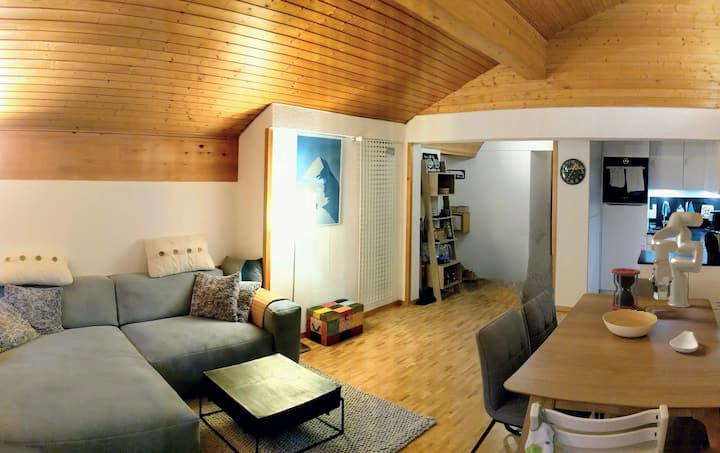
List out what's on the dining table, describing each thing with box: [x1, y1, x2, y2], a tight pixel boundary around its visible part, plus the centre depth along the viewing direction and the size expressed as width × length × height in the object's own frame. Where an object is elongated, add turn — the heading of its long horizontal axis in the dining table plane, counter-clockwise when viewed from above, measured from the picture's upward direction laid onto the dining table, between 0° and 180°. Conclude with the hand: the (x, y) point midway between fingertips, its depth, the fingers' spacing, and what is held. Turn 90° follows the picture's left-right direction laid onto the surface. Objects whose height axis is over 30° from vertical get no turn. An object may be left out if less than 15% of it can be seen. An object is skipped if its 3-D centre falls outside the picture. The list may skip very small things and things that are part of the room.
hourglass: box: [610, 267, 641, 311], centre depth 334 cm, size 16×16×25 cm
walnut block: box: [644, 305, 677, 320], centre depth 317 cm, size 12×12×5 cm
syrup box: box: [653, 276, 669, 301], centre depth 315 cm, size 6×6×14 cm
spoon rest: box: [669, 330, 699, 354], centre depth 259 cm, size 24×12×7 cm, turn 139°
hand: (660, 291), depth 315 cm, fingers closed on syrup box, 6 cm apart
